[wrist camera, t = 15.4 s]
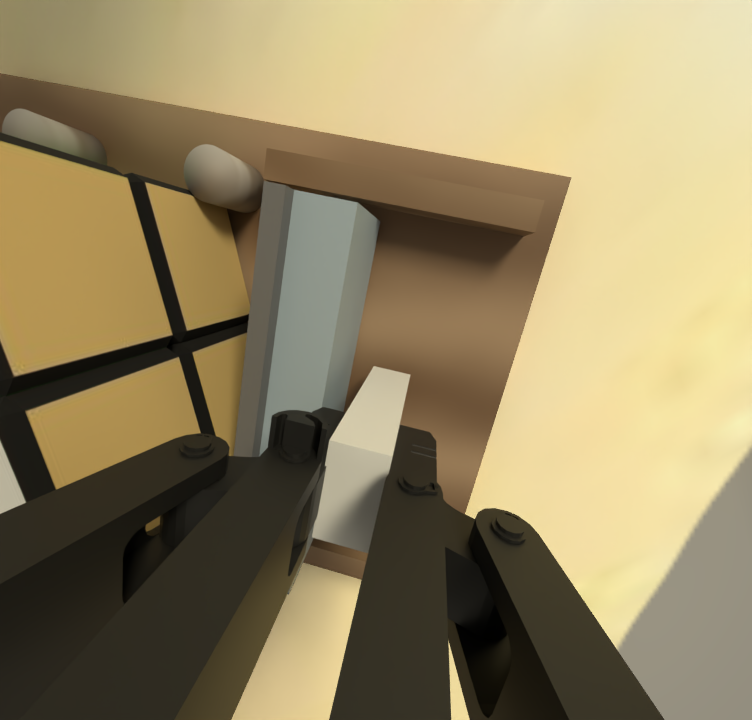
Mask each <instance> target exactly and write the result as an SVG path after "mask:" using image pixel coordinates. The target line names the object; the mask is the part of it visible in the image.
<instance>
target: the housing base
mask: <svg viewBox="0 0 752 720" xmlns="http://www.w3.org/2000/svg"><path fill="white" fill-rule="evenodd" d="M0 132H1V133H4V134H7V135H10V136H14V137H17V138H20V139H23V140H27V141H30V142H33V143H36V144H39V145H43V146H46V147H49V148H52V149H55V150H59V151H62V152H65V153H68V154H71V155H75V156H78V157H81V158H84V159H88V160H91V161H94V162H97V163H100V164H104V165H107V166H110V167H113V168H115V169H116V170H118V171H119V172H120V173H122V174H123V175H124V174H128V173H134V174H138V175H141V176H144V177H148V178H151V179H154V180H158V181H161V182H164V183H167V184H171V185H174V186H177V187H181V188H184V189H187V190H189V191H190V192H191V193H192V194H193V195H194V196H195V197H196V198H197V199H199V200H201V201H203V202H206V203H210V204H213V205H217V206H220V207H224V208H227V211H228V215H229V219H230V223H231V228H232V232H233V236H234V240H235V244H236V248H237V253H238V257H239V261H240V265H241V269H242V273H243V277H244V282H245V286H246V290H247V294H248V298H249V302H251V293H252V284H253V275H254V266H255V257H256V248H257V239H258V229H259V220H260V211H261V202H262V193H263V184H264V181H267V182H272V183H277V184H282V185H286V186H288V187H290V188H292V189H294V190H298V191H303V192H308V193H313V194H318V195H323V196H328V197H333V198H338V199H343V200H348V201H353V202H358V203H359V204H360V205H361V206H363V207H364V208H365V209H366V210H367V211H369V212H370V213H371V214H372V215H373V216H374V217H376V218H377V219H378V220H379V221H380V226H379V231H378V236H377V242H376V247H375V252H374V257H373V262H372V267H371V272H370V278H369V283H368V288H367V293H366V298H365V303H364V309H363V314H362V319H361V324H360V329H359V334H358V340H357V345H356V350H355V355H354V360H353V365H352V370H351V376H350V381H349V386H348V391H347V396H346V401H345V407H344V412H347V410H348V408H349V407H350V405H351V403H352V402H353V400H354V398H355V397H356V395H357V393H358V392H359V390H360V388H361V387H362V385H363V383H364V382H365V380H366V378H367V377H368V375H369V373H370V372H371V370H372V368H373V367H374V366H376V367H380V368H384V369H389V370H393V371H397V372H401V373H406V374H410V379H409V384H408V388H407V393H406V398H405V402H404V407H403V411H402V416H401V421H400V425H404V426H408V427H412V428H416V429H420V430H424V431H428V432H430V433H431V434H432V436H433V437H434V438H435V440H436V449H437V450H436V451H437V457H436V459H437V483H438V484H439V485H440V486H441V489H442V492H443V499H444V500H445V502H446V503H448V504H449V505H450V506H451V507H453V508H454V509H456V510H458V511H459V512H461V513H463V514H465V512H466V509H467V506H468V502H469V499H470V496H471V493H472V490H473V487H474V483H475V480H476V477H477V474H478V471H479V468H480V464H481V461H482V458H483V455H484V452H485V449H486V446H487V442H488V439H489V436H490V433H491V430H492V427H493V423H494V420H495V417H496V414H497V411H498V408H499V404H500V401H501V398H502V395H503V392H504V389H505V386H506V382H507V379H508V376H509V373H510V370H511V367H512V363H513V360H514V357H515V354H516V351H517V348H518V344H519V341H520V338H521V335H522V332H523V329H524V326H525V322H526V319H527V316H528V313H529V310H530V307H531V303H532V300H533V297H534V294H535V291H536V288H537V284H538V281H539V278H540V275H541V272H542V269H543V266H544V262H545V259H546V256H547V253H548V250H549V247H550V243H551V240H552V237H553V234H554V231H555V228H556V224H557V221H558V218H559V215H560V212H561V209H562V206H563V202H564V199H565V196H566V193H567V190H568V187H569V183H570V180H571V177H566V176H560V175H555V174H549V173H544V172H538V171H533V170H527V169H522V168H516V167H511V166H505V165H500V164H494V163H489V162H483V161H478V160H472V159H467V158H461V157H456V156H450V155H445V154H439V153H434V152H428V151H423V150H417V149H412V148H406V147H401V146H395V145H390V144H385V143H379V142H374V141H368V140H363V139H357V138H352V137H346V136H341V135H335V134H330V133H324V132H319V131H313V130H308V129H302V128H297V127H291V126H286V125H280V124H275V123H269V122H264V121H258V120H253V119H247V118H242V117H236V116H231V115H225V114H220V113H214V112H209V111H203V110H198V109H192V108H187V107H181V106H176V105H170V104H165V103H160V102H154V101H149V100H143V99H138V98H132V97H127V96H121V95H116V94H110V93H105V92H99V91H94V90H88V89H83V88H77V87H72V86H66V85H61V84H55V83H50V82H44V81H39V80H33V79H28V78H22V77H17V76H11V75H6V74H0ZM245 323H248V321H247V322H245ZM367 556H368V553H365V552H362V551H358V550H355V549H351V548H348V547H344V546H341V545H337V544H333V543H330V542H326V541H323V540H319V539H316V538H314V539H313V541H312V543H311V545H310V548H309V550H308V552H307V554H306V557H305V559H304V561H303V562H304V563H307V564H311V565H314V566H318V567H321V568H324V569H328V570H331V571H334V572H338V573H341V574H345V575H348V576H351V577H355V578H358V579H362V577H363V573H364V569H365V564H366V560H367Z"/></svg>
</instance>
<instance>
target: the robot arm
mask: <svg viewBox="0 0 752 720" xmlns="http://www.w3.org/2000/svg"><path fill="white" fill-rule="evenodd" d="M409 379H410V374H406V373H401V372H397V371H393V370H389V369H384V368H380V367H376V366H374V367H373V368H372V370H371V372H370V373H369V375H368V377H367V378H366V380H365V382H364V383H363V385H362V387H361V388H360V390H359V392H358V393H357V395H356V397H355V398H354V400H353V402H352V403H351V405H350V407H349V408H348V410H347V412H342V411H338V410H334V409H330V408H326V407H322V408H320V409H317V410H315V411H312V413H311V412H307V411H301V410H286V411H281V412H277V413H276V414H274V415H272V418H271V426H270V433H269V441H268V448H267V449H266V450H265V451H264V452H263V453H262V454H261V455H260V456H259V457H239V456H229V448H230V447H229V445H228V443H227V442H226V441H225V440H223V439H222V438H220V437H217V436H214V435H211V434H204V433H196V434H190V435H184V436H181V437H178V438H175V439H172V440H170V441H168V442H165V443H163V444H161V445H158V446H156V447H154V448H151V449H149V450H147V451H144V452H142V453H140V454H137V455H135V456H133V457H131V458H128V459H126V460H124V461H121V462H119V463H117V464H114V465H112V466H110V467H107V468H105V469H103V470H100V471H98V472H96V473H94V474H91V475H89V476H87V477H84V478H82V479H80V480H77V481H75V482H73V483H70V484H68V485H66V486H63V487H61V488H59V489H56V490H54V491H52V492H50V493H47V494H45V495H43V496H40V497H38V498H36V499H33V500H31V501H29V502H26V503H24V504H22V505H19V506H17V507H15V508H12V509H10V510H8V511H6V512H3V513H1V514H0V720H231V719H232V717H233V714H234V712H235V710H236V708H237V705H238V703H239V701H240V699H241V696H242V694H243V692H244V690H245V687H246V685H247V683H248V681H249V678H250V676H251V674H252V672H253V669H254V667H255V665H256V663H257V660H258V658H259V656H260V654H261V651H262V649H263V647H264V645H265V642H266V640H267V638H268V636H269V633H270V631H271V629H272V627H273V624H274V622H275V620H276V618H277V615H278V613H279V611H280V609H281V607H282V604H283V602H284V600H285V598H286V595H287V593H288V591H289V589H290V586H291V584H292V582H293V580H294V577H295V575H296V573H297V571H298V568H299V566H300V564H301V562H302V559H303V557H304V555H305V552H306V546H307V540H308V535H309V533H310V531H311V529H312V527H313V525H314V528H313V533H312V538H316V539H319V540H323V541H326V542H330V543H333V544H337V545H341V546H344V547H348V548H351V549H355V550H358V551H362V552H365V553H368V556H367V560H366V564H365V569H364V573H363V577H362V581H361V586H360V590H359V594H358V599H357V603H356V607H355V611H354V616H353V620H352V624H351V629H350V633H349V637H348V641H347V646H346V650H345V654H344V659H343V663H342V667H341V671H340V676H339V680H338V684H337V689H336V693H335V697H334V701H333V706H332V710H331V714H330V719H329V720H451V704H450V675H449V647H448V640H449V643H450V647H451V651H452V655H453V658H454V662H455V666H456V670H457V673H458V677H459V681H460V685H461V688H462V692H463V696H464V700H465V703H466V707H467V711H468V715H469V718H470V720H664V718H663V717H662V716H661V714H660V712H659V711H658V710H657V708H656V707H655V705H654V704H653V702H652V701H651V699H650V698H649V696H648V695H647V694H646V692H645V691H644V689H643V688H642V686H641V685H640V683H639V682H638V680H637V679H636V677H635V676H634V674H633V673H632V671H631V670H630V668H629V667H628V665H627V664H626V662H625V661H624V660H623V658H622V657H621V655H620V654H619V652H618V651H617V649H616V648H615V646H614V645H613V643H612V642H611V640H610V639H609V637H608V636H607V634H606V633H605V631H604V630H603V629H602V627H601V626H600V624H599V623H598V621H597V620H596V618H595V617H594V615H593V614H592V612H591V611H590V609H589V608H588V606H587V605H586V603H585V602H584V601H583V599H582V598H581V596H580V595H579V593H578V592H577V590H576V589H575V587H574V586H573V584H572V583H571V581H570V580H569V578H568V577H567V575H566V574H565V573H564V571H563V570H562V568H561V567H560V565H559V564H558V562H557V561H556V559H555V558H554V556H553V555H552V553H551V552H550V550H549V549H548V547H547V546H546V545H545V543H544V542H543V540H542V539H541V537H540V536H539V534H538V533H537V532H536V531H535V530H534V529H533V527H532V526H531V525H530V524H528V523H527V522H526V521H524V520H523V519H521V518H520V517H519V516H517V515H515V514H512V513H511V512H508V511H504V510H500V509H496V508H492V509H484V510H482V511H480V512H478V514H477V516H476V518H475V519H473V518H471V517H469V516H467V515H465V514H463V513H461V512H459V511H458V510H456V509H454V508H453V507H451V506H450V505H449V504H448V503H446V502H445V500H444V499H443V492H442V489H441V486H440V485H439V484H438V483H437V459H436V457H437V451H436V450H437V449H436V440H435V438H434V437H433V436H432V434H431V433H430V432H428V431H424V430H420V429H416V428H412V427H408V426H404V425H400V421H401V416H402V411H403V407H404V402H405V398H406V393H407V388H408V384H409ZM159 516H160V525H158V526H157V527H155V528H154V529H152V530H149V531H147V532H146V524H148V523H150V522H151V521H153V520H154V519H156V518H158V517H159Z"/></svg>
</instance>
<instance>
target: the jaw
mask: <svg viewBox="0 0 752 720" xmlns="http://www.w3.org/2000/svg"><path fill="white" fill-rule="evenodd" d="M379 226H380V221H379V220H378V219H377V218H376V217H374V216H373V215H372V214H371V213H370V212H369V211H367V210H366V209H365V208H364V207H363V206H361V205H360V204H359V203H358V202H353V201H348V200H343V199H338V198H333V197H328V196H323V195H318V194H313V193H308V192H303V191H298V190H294V189H292V188H290V187H288V186H286V185H282V184H277V183H272V182H267V181H264V184H263V193H262V202H261V211H260V220H259V229H258V239H257V248H256V257H255V266H254V275H253V284H252V293H251V302H250V311H249V320H248V329H247V339H246V348H245V357H244V366H243V375H242V384H241V393H240V402H239V411H238V420H237V429H236V439H235V448H234V456H239V457H259V456H260V455H261V454H262V453H263V452H264V451H265V450H266V449H267V448H268V441H269V433H270V426H271V418H272V415H274V414H276V413H277V412H281V411H286V410H301V411H307V412H311V413H312V411H315V410H317V409H320V408H322V407H326V408H330V409H334V410H338V411H342V412H344V407H345V401H346V396H347V391H348V386H349V381H350V376H351V370H352V365H353V360H354V355H355V350H356V345H357V340H358V334H359V329H360V324H361V319H362V314H363V309H364V303H365V298H366V293H367V288H368V283H369V278H370V272H371V267H372V262H373V257H374V252H375V247H376V242H377V236H378V231H379ZM313 528H314V525H313V527H312V529H311V531H310V533H309V535H308V540H307V546H306V552H305V555H304V557H303V559H302V562H301V564H300V566H299V568H298V571H297V573H296V575H295V577H294V580H293V582H292V584H291V586H290V589H289V591H288V593H287V594H289V593H290V591H291V588H292V586H293V584H294V582H295V579H296V577H297V575H298V573H299V570H300V568H301V566H302V563H303V561H304V559H305V557H306V554H307V552H308V550H309V548H310V545H311V543H312V541H313V539H314V538H312V533H313Z"/></svg>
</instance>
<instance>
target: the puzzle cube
mask: <svg viewBox="0 0 752 720" xmlns="http://www.w3.org/2000/svg"><path fill="white" fill-rule="evenodd" d="M249 311H250V302H249V298H248V294H247V290H246V286H245V282H244V277H243V273H242V269H241V265H240V261H239V257H238V253H237V248H236V244H235V240H234V236H233V232H232V228H231V223H230V219H229V215H228V211H227V208H224V207H220V206H217V205H213V204H210V203H206V202H203V201H201V200H199V199H197V198H196V197H195V196H194V195H193V194H192V193H191V192H190V191H189V190H187V189H184V188H181V187H177V186H174V185H171V184H167V183H164V182H161V181H158V180H154V179H151V178H148V177H144V176H141V175H138V174H134V173H128V174H124V175H123V174H122V173H120V172H119V171H118V170H116V169H115V168H113V167H110V166H107V165H104V164H100V163H97V162H94V161H91V160H88V159H84V158H81V157H78V156H75V155H71V154H68V153H65V152H62V151H59V150H55V149H52V148H49V147H46V146H43V145H39V144H36V143H33V142H30V141H27V140H23V139H20V138H17V137H14V136H10V135H7V134H4V133H1V132H0V514H1V513H3V512H6V511H8V510H10V509H12V508H15V507H17V506H19V505H22V504H24V503H26V502H29V501H31V500H33V499H36V498H38V497H40V496H43V495H45V494H47V493H50V492H52V491H54V490H56V489H59V488H61V487H63V486H66V485H68V484H70V483H73V482H75V481H77V480H80V479H82V478H84V477H87V476H89V475H91V474H94V473H96V472H98V471H100V470H103V469H105V468H107V467H110V466H112V465H114V464H117V463H119V462H121V461H124V460H126V459H128V458H131V457H133V456H135V455H137V454H140V453H142V452H144V451H147V450H149V449H151V448H154V447H156V446H158V445H161V444H163V443H165V442H168V441H170V440H172V439H175V438H178V437H181V436H184V435H190V434H196V433H204V434H211V435H214V436H217V437H220V438H222V439H223V440H225V441H226V442H227V443H228V445H229V447H230V448H229V456H234V448H235V439H236V429H237V420H238V411H239V402H240V393H241V384H242V375H243V366H244V357H245V348H246V339H247V329H248V323H245V322H247V321H248V320H249ZM158 525H160V516H159V517H158V518H156V519H154V520H153V521H151V522H150V523H148V524H146V532H147V531H149V530H152V529H154V528H155V527H157V526H158Z"/></svg>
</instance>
